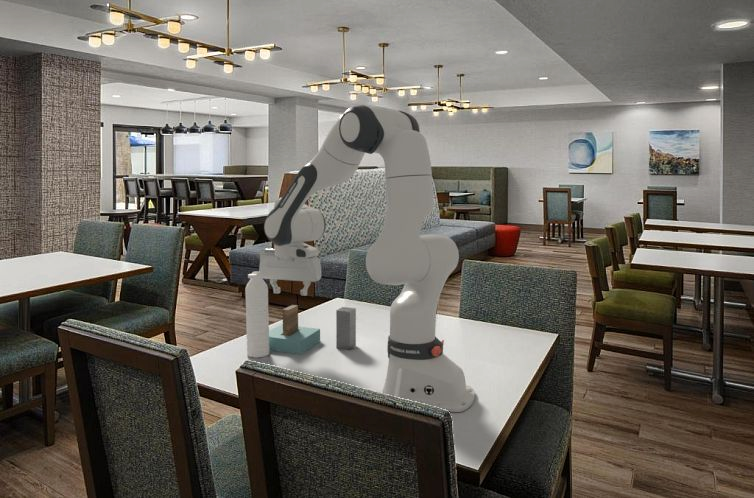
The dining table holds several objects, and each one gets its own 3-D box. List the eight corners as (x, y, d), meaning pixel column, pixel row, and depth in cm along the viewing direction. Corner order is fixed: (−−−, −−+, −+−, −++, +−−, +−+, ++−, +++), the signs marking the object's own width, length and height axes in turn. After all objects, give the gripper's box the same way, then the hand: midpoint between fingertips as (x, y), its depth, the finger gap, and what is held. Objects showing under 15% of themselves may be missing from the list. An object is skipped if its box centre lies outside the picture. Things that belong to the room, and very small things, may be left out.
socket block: (320, 341, 172) (320, 329, 171) (300, 354, 160) (300, 341, 159) (282, 335, 177) (281, 324, 176) (259, 348, 165) (259, 335, 164)
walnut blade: (298, 342, 171) (297, 305, 169) (288, 348, 165) (288, 310, 163) (293, 341, 171) (292, 304, 170) (283, 347, 166) (282, 309, 164)
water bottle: (250, 350, 163) (247, 269, 159) (271, 350, 162) (269, 269, 159) (242, 360, 154) (239, 275, 150) (265, 361, 154) (262, 275, 150)
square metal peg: (355, 345, 168) (355, 308, 166) (349, 350, 164) (349, 311, 162) (342, 343, 169) (342, 306, 167) (336, 348, 165) (336, 310, 163)
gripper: (254, 249, 164) (255, 293, 166) (313, 252, 157) (314, 298, 159) (265, 247, 170) (267, 289, 172) (323, 249, 163) (324, 294, 165)
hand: (290, 294), depth 166 cm, fingers open, 8 cm apart
